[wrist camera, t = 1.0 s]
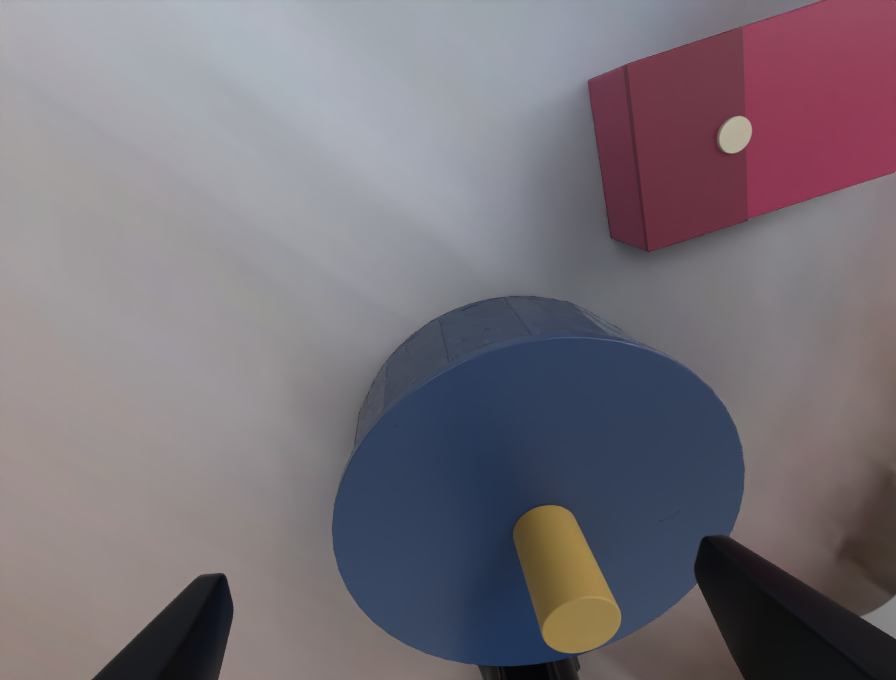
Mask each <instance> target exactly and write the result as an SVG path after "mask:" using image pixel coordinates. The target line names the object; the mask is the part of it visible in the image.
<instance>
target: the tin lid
mask: <svg viewBox="0 0 896 680" xmlns="http://www.w3.org/2000/svg"><path fill="white" fill-rule="evenodd" d="M744 471H745V467H744V459H743V451H742V446H741V442H740V439H739V436H738V433H737V429H736V426H735V424H734V422H733V420H732V419H731V417H730V415H729V413H728V411H727V409H726V407H725V406H724V404H723V403H722V402H721V400H720V399H719V398H718V397H717V395H716V394H715V393H714V391H713V390H712V389H711V388H710V387H709V386H708V385H707V384H706V383H705V382H703V381H702V380H701V379H700V378H699V377H698V376H697V375H696V374H695V373H693V372H692V371H691V370H689V369H688V368H687V367H685V366H683V365H682V364H680V363H679V362H677V361H676V360H674V359H672V358H671V357H669V356H668V355H666V354H664V353H662V352H660V351H657V350H655V349H653V348H650V347H648V346H646V345H644V344H641V343H637V342H634V341H630V340H626V339H623V338H619V337H615V336H609V335H601V334H593V333H586V332H553V333H545V334H537V335H529V336H522V337H518V338H514V339H510V340H506V341H502V342H498V343H494V344H490V345H488V346H485V347H482V348H480V349H477V350H474V351H472V352H469V353H467V354H464V355H461V356H459V357H457V358H455V359H454V360H452V361H450V362H448V363H446V364H444V365H442V366H440V367H438V368H436V369H435V370H433V371H431V372H430V373H428V374H427V375H425V376H424V377H423V378H421V379H420V380H418V381H417V382H415V383H414V384H412V385H411V386H409V387H408V388H407V389H406V390H405V391H403V392H402V393H401V394H400V395H399V396H398V397H397V398H396V399H394V400H393V401H392V402H391V403H390V404H389V405H388V406H387V407H386V408H385V409H384V410H383V411H382V412H381V413H380V414H379V416H378V417H377V418H376V419H375V420H374V421H373V423H372V424H371V425H370V426H369V427H368V428H367V430H366V431H365V433H364V434H363V436H362V437H361V439H360V440H359V442H358V444H357V445H356V447H355V448H354V450H353V451H352V453H351V456H350V458H349V460H348V462H347V464H346V467H345V469H344V471H343V473H342V476H341V480H340V483H339V487H338V491H337V494H336V498H335V503H334V512H333V522H332V536H333V549H334V553H335V557H336V561H337V565H338V569H339V572H340V574H341V576H342V578H343V581H344V583H345V585H346V587H347V589H348V591H349V592H350V594H351V595H352V597H353V598H354V600H355V601H356V603H357V604H358V606H359V607H360V608H361V609H362V610H363V611H364V612H365V613H366V615H367V616H368V617H369V618H370V619H371V620H372V621H373V622H374V623H376V624H377V625H378V626H379V627H381V628H382V629H383V630H384V631H386V632H387V633H388V634H390V635H391V636H393V637H395V638H396V639H398V640H400V641H401V642H403V643H405V644H406V645H408V646H411V647H413V648H415V649H418V650H420V651H422V652H424V653H427V654H430V655H433V656H437V657H440V658H443V659H446V660H451V661H456V662H461V663H466V664H475V665H485V666H520V665H532V664H539V663H545V662H551V661H557V660H561V659H565V658H569V657H573V656H577V655H580V654H583V653H586V652H589V651H592V650H595V649H598V648H601V647H603V646H605V645H608V644H610V643H612V642H615V641H617V640H619V639H621V638H623V637H625V636H627V635H629V634H631V633H633V632H634V631H636V630H638V629H640V628H642V627H644V626H645V625H647V624H648V623H650V622H651V621H653V620H654V619H656V618H657V617H659V616H660V615H662V614H663V613H664V612H665V611H667V610H668V609H669V608H670V607H672V606H673V605H674V604H675V603H677V602H678V601H679V600H680V599H681V598H682V597H683V596H684V595H686V594H687V593H688V592H689V591H690V590H691V589H692V588H693V587H694V586H695V585H696V584H697V581H696V578H695V575H694V563H695V559H696V556H697V552H698V549H699V545H700V542H701V539H702V538H703V537H704V536H710V535H725V536H728V537H729V536H730V534H731V532H732V529H733V527H734V524H735V521H736V518H737V515H738V513H739V510H740V505H741V500H742V495H743V490H744Z"/></svg>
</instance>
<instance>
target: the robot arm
mask: <svg viewBox="0 0 896 680" xmlns="http://www.w3.org/2000/svg"><path fill="white" fill-rule="evenodd" d="M694 575H695V578H696V581H697V583H698V585H699V587H700V589H701V592H702V594H703V596H704V598H705V600H706V602H707V604H708V606H709V608H710V611H711V613H712V615H713V617H714V619H715V621H716V623H717V625H718V627H719V630H720V632H721V634H722V636H723V638H724V640H725V642H726V644H727V647H728V649H729V651H730V653H731V655H732V657H733V659H734V661H735V663H736V664H737V666H738V668H739V670H740V672H741V674H742V675H743V677H744V679H745V680H896V639H894V638H893V637H891V636H890V635H888V634H887V633H885V632H883V631H882V630H880V629H878V628H877V627H875V626H873V625H872V624H870V623H869V622H867V621H865V620H864V619H862V618H860V617H859V616H857V615H856V614H854V613H852V612H851V611H849V610H847V609H846V608H844V607H842V606H841V605H839V604H838V603H836V602H834V601H833V600H831V599H829V598H828V597H826V596H825V595H823V594H821V593H820V592H818V591H816V590H815V589H813V588H811V587H810V586H808V585H807V584H805V583H803V582H802V581H800V580H798V579H797V578H795V577H794V576H792V575H790V574H789V573H787V572H785V571H784V570H782V569H780V568H779V567H777V566H776V565H774V564H772V563H771V562H769V561H767V560H766V559H764V558H763V557H761V556H759V555H758V554H756V553H754V552H753V551H751V550H749V549H748V548H746V547H745V546H743V545H741V544H740V543H738V542H736V541H735V540H733V539H732V538H730V537H728V536H725V535H710V536H704V537H703V538H702V539H701V542H700V545H699V549H698V552H697V556H696V559H695V563H694ZM232 619H233V602H232V598H231V594H230V589H229V585H228V581H227V578H226V576H225V575H224V574H223V573H215V574H203V575H200V576H199V577H197V578H196V579H195V580H193V581H192V582H191V583H190V584H189V585H188V586H187V587H186V588H185V589H184V590H183V591H182V592H181V593H180V594H179V595H178V596H177V597H176V598H175V599H174V600H173V601H172V602H171V603H170V604H169V605H168V606H167V607H166V608H165V609H164V610H163V611H162V612H161V613H160V614H159V615H158V616H156V617H155V618H154V619H153V620H152V621H151V622H150V623H149V624H148V625H147V626H146V627H145V628H144V629H143V630H142V631H141V632H140V633H139V634H138V635H137V636H136V637H135V638H134V639H133V640H132V641H131V642H130V643H129V644H128V645H127V646H126V647H125V648H124V649H123V650H122V651H121V652H120V653H118V654H117V655H116V656H115V657H114V658H113V659H112V660H111V661H110V662H109V663H108V664H107V665H106V666H105V667H104V668H103V669H102V670H101V671H100V672H99V673H98V674H97V675H96V676H95V677H94V678H93V679H92V680H218V678H219V674H220V670H221V666H222V661H223V657H224V653H225V649H226V645H227V640H228V636H229V632H230V628H231V624H232ZM478 667H479V669H480V671H481V674H482V676H483V678H484V680H579V677H578V674H577V671H579V669H580V665H579V662H578V658H577V656H573V657H569V658H565V659H561V660H557V661H551V662H545V663H539V664H532V665H520V666H485V665H478Z"/></svg>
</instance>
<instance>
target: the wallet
mask: <svg viewBox="0 0 896 680" xmlns="http://www.w3.org/2000/svg"><path fill="white" fill-rule="evenodd" d="M588 85H589V91H590V98H591V105H592V112H593V118H594V125H595V132H596V139H597V145H598V152H599V159H600V166H601V172H602V179H603V186H604V193H605V199H606V206H607V213H608V220H609V226H610V233H611V237H612V238H614V239H617V240H619V241H622V242H624V243H627V244H630V245H632V246H635V247H638V248H640V249H643V250H645V251H647V252H650V251H653V250H656V249H659V248H663V247H666V246H669V245H672V244H675V243H678V242H682V241H685V240H688V239H691V238H694V237H697V236H701V235H704V234H707V233H710V232H713V231H716V230H719V229H723V228H726V227H729V226H732V225H735V224H738V223H742V222H745V221H748V219H749V218H752V217H755V216H758V215H761V214H765V213H768V212H771V211H774V210H777V209H780V208H784V207H787V206H790V205H793V204H796V203H799V202H802V201H806V200H809V199H812V198H815V197H818V196H821V195H825V194H828V193H831V192H834V191H837V190H840V189H843V188H847V187H850V186H853V185H856V184H859V183H862V182H866V181H869V180H872V179H875V178H878V177H881V176H885V175H888V174H891V173H894V172H896V0H823V1H820V2H816V3H813V4H810V5H807V6H804V7H801V8H798V9H795V10H792V11H789V12H786V13H783V14H780V15H777V16H773V17H770V18H767V19H764V20H761V21H758V22H755V23H752V24H749V25H746V26H743V27H739V28H736V29H733V30H730V31H727V32H724V33H721V34H718V35H714V36H711V37H708V38H705V39H702V40H699V41H696V42H693V43H690V44H687V45H684V46H681V47H678V48H675V49H671V50H668V51H665V52H662V53H659V54H656V55H653V56H650V57H647V58H644V59H641V60H638V61H635V62H632V63H628V64H626V65H624V66H621V67H619V68H616V69H614V70H611V71H609V72H607V73H604V74H602V75H599V76H597V77H594V78H592V79H590V80H588Z"/></svg>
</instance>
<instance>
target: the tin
mask: <svg viewBox="0 0 896 680" xmlns="http://www.w3.org/2000/svg"><path fill="white" fill-rule="evenodd" d="M553 332H586V333H593V334H601V335H609V336H615V337H619V338H623V339H626V340H630V341H634V342H636V341H635V340H633V339H632V338H631V337H630V336H628V335H627V334H626V333H624V332H623V331H622V330H621V329H619V328H617V327H615V326H613V325H612V324H610V323H608V322H606V321H604V320H602V319H601V318H599V317H598V316H596V315H594V314H593V313H591V312H589V311H587V310H585V309H582V308H580V307H578V306H576V305H574V304H572V303H569V302H566V301H559V300H555V299H550V298H542V297H535V296H509V297H501V298H492V299H487V300H483V301H479V302H475V303H471V304H468V305H466V306H463V307H460V308H458V309H455V310H453V311H450V312H448V313H446V314H444V315H442V316H440V317H439V318H437V319H435V320H433V321H431V322H429V323H428V324H426V325H425V326H424V327H422V328H421V329H419V330H418V331H417V332H415V333H414V334H412V335H411V336H410V337H409V338H408V339H407V340H406V341H405V342H404V343H403V344H402V345H400V346H399V347H398V348H397V349H396V350H395V352H394V353H393V354H392V355H391V356H390V357H389V358H388V360H387V361H386V362H385V364H384V365H383V367H382V368H381V370H380V372H379V373H378V375H377V376H376V378H375V380H374V381H373V384H372V386H371V388H370V390H369V393H368V395H367V397H366V400H365V402H364V404H363V406H362V408H361V410H360V412H359V419H358V425H357V431H356V438H355V444H354V448H355V447H356V445H357V444H358V442H359V440H360V439H361V437H362V436H363V434H364V433H365V431H366V430H367V428H368V427H369V426H370V425H371V424H372V423H373V421H374V420H375V419H376V418H377V417H378V416H379V414H380V413H381V412H382V411H383V410H384V409H385V408H386V407H387V406H388V405H389V404H390V403H391V402H392V401H393V400H394V399H396V398H397V397H398V396H399V395H400V394H401V393H402V392H403V391H405V390H406V389H407V388H408V387H409V386H411V385H412V384H414V383H415V382H417V381H418V380H420V379H421V378H423V377H424V376H425V375H427V374H428V373H430V372H431V371H433V370H435V369H436V368H438V367H440V366H442V365H444V364H446V363H448V362H450V361H452V360H454V359H455V358H457V357H459V356H461V355H464V354H467V353H469V352H472V351H474V350H477V349H480V348H482V347H485V346H488V345H490V344H494V343H498V342H502V341H506V340H510V339H514V338H518V337H522V336H529V335H537V334H545V333H553Z"/></svg>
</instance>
